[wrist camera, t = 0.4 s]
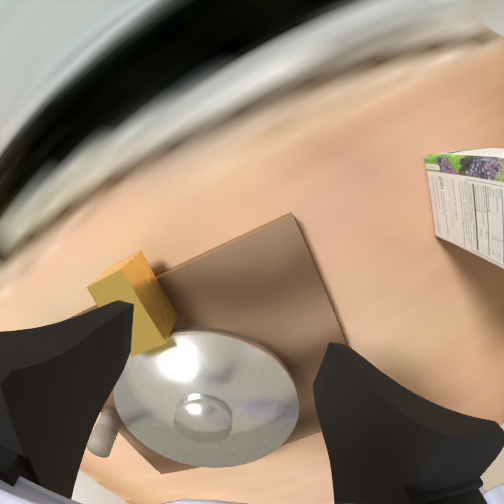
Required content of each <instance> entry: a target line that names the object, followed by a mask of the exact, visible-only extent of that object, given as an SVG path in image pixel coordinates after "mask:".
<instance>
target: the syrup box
mask: <svg viewBox="0 0 504 504" xmlns="http://www.w3.org/2000/svg"><path fill="white" fill-rule="evenodd" d="M424 161H425V166H426V172H427V178H428V184H429V191H430V197H431V205H432V212H433V219H434V227H435V235H436V236H437V237H439V238H441V239H444V240H446V241H448V242H450V243H453V244H454V245H456V246H458V247H460V248H462V249H465V250H467V251H469V252H471V253H473V254H475V255H477V256H479V257H481V258H483V259H485V260H487V261H489V262H491V263H493V264H495V265H497V266H499V267H500V268H502V269H504V149H498V148H473V149H463V150H456V151H450V152H444V153H438V154H433V155H427V156H425V158H424Z"/></svg>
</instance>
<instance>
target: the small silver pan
mask: <svg viewBox="0 0 504 504" xmlns="http://www.w3.org/2000/svg"><path fill="white" fill-rule="evenodd" d="M87 288H88V290H89V292H90V293H91V295H92V297H93V299H94V300H95V302H96V304H97V305H98V307H101V306H104V305H106V304H109V303H111V302H114V301H117V300H120V301H124V302H128V303H132V304H134V312H133V326H132V341H131V352H130V355H129V358H128V360H127V363H126V365H125V368H124V370H123V372H122V374H121V376H120V378H119V380H118V381H117V383H116V385H115V387H114V390H113V395H114V402H115V406H116V409H117V412H118V414H119V416H120V418H121V420H122V421H123V423H124V424H125V426H126V427H127V428H128V430H129V431H130V432H131V433H132V434H133V435H134V436H135V437H136V438H137V439H138V440H139V441H140V442H142V443H143V444H144V445H145V446H147V447H148V448H150V449H151V450H153V451H155V452H157V453H158V454H160V455H162V456H164V457H167V458H169V459H172V460H174V461H178V462H181V463H184V464H189V465H193V466H200V467H214V468H217V467H231V466H237V465H242V464H246V463H249V462H253V461H255V460H258V459H260V458H262V457H264V456H266V455H268V454H270V453H271V452H273V451H274V450H276V449H277V448H278V447H280V446H281V445H282V444H283V443H284V442H285V441H286V440H287V438H288V437H289V436H290V434H291V433H292V431H293V429H294V427H295V425H296V422H297V419H298V414H299V400H298V396H297V392H296V387H295V383H294V381H293V378H292V376H291V374H290V372H289V371H288V369H287V368H286V366H285V365H284V364H283V362H282V361H281V360H280V359H279V358H278V357H277V356H276V355H275V354H273V353H272V352H271V351H270V350H269V349H267V348H266V347H264V346H263V345H261V344H260V343H258V342H256V341H254V340H252V339H250V338H248V337H245V336H243V335H240V334H237V333H234V332H230V331H226V330H222V329H216V328H209V327H183V328H176V329H172V328H173V325H174V323H175V320H176V318H177V313H176V311H175V310H174V308H173V306H172V305H171V303H170V301H169V299H168V298H167V296H166V294H165V293H164V291H163V289H162V287H161V286H160V284H159V282H158V280H157V279H156V277H155V275H154V273H153V272H152V270H151V268H150V266H149V264H148V262H147V261H146V259H145V257H144V255H143V253H142V251H140V252H138V253H136V254H134V255H132V256H130V257H128V258H127V259H125V260H123V261H121V262H119V263H117V264H115V265H113V266H111V267H110V268H109V269H107V270H106V271H105V272H104V273H103V274H102V275H100V276H99V277H98V278H97V279H96V280H95V281H93V282H92V283H91V284H90V285H89V286H88V287H87Z"/></svg>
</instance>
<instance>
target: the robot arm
mask: <svg viewBox="0 0 504 504" xmlns="http://www.w3.org/2000/svg"><path fill="white" fill-rule="evenodd" d="M133 312H134V304H132V303H128V302H124V301H120V300H117V301H114V302H111V303H109V304H106V305H104V306H101V307H99V308H96V309H94V310H92V311H89V312H87V313H84V314H82V315H79V316H76V317H73V318H70V319H67V320H64V321H62V322H58V323H55V324H51V325H47V326H42V327H38V328H32V329H24V330H16V331H3V332H0V504H81V503H79V502H76V501H73V500H71V497H72V493H73V488H74V485H75V481H76V478H77V474H78V471H79V467H80V464H81V461H82V457H83V454H84V451H85V448H86V446H87V443H88V440H89V437H90V435H91V432H92V429H93V427H94V424H95V422H96V420H97V417H98V415H99V413H100V412H101V410H102V408H103V406H104V404H105V403H106V401H107V399H108V397H109V395H110V394H111V392H112V390H113V388H114V387H115V385H116V383H117V381H118V380H119V378H120V376H121V374H122V372H123V370H124V368H125V365H126V363H127V360H128V358H129V355H130V352H131V341H132V326H133ZM313 394H314V402H315V408H316V412H317V415H318V419H319V423H320V426H321V430H322V433H323V436H324V440H325V443H326V447H327V450H328V455H329V459H330V465H331V473H332V480H333V491H334V502H335V504H504V484H501V485H499V486H497V487H494V488H492V489H490V490H488V491H486V490H485V489H484V487H483V481H482V480H481V478H480V476H481V475H482V474H483V473H484V472H485V471H486V469H487V468H488V467H489V466H490V465H491V464H492V462H493V461H494V460H495V459H496V457H497V456H498V455H499V453H500V452H501V450H502V448H503V446H504V431H503V429H502V428H501V427H500V426H499V424H498V423H496V422H495V421H490V420H485V419H481V418H476V417H471V416H468V415H464V414H461V413H458V412H455V411H452V410H449V409H446V408H444V407H441V406H439V405H437V404H434V403H432V402H430V401H428V400H426V399H424V398H423V397H420V396H418V395H416V394H415V393H413V392H411V391H409V390H408V389H406V388H404V387H403V386H401V385H400V384H398V383H397V382H395V381H394V380H392V379H391V378H389V377H388V376H387V375H385V374H384V373H383V372H381V371H380V370H379V369H377V368H376V367H375V366H373V365H372V364H371V363H370V362H368V361H367V360H366V359H365V358H363V357H362V356H361V355H359V354H358V353H357V352H355V351H354V350H353V349H351V348H350V347H348V346H347V345H345V344H340V343H333V342H329V344H328V347H327V350H326V352H325V355H324V357H323V360H322V363H321V365H320V368H319V370H318V373H317V375H316V378H315V380H314V382H313ZM162 504H247V503H236V502H227V501H218V500H197V499H182V500H177V501H172V502H167V503H162Z"/></svg>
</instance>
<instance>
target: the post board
mask: <svg viewBox="0 0 504 504" xmlns="http://www.w3.org/2000/svg"><path fill="white" fill-rule="evenodd" d="M155 277H156V279H157V280H158V282H159V284H160V286H161V287H162V289H163V291H164V293H165V294H166V296H167V298H168V299H169V301H170V303H171V305H172V306H173V308H174V310H175V311H176V313H177V318H176V320H175V323H174V325H173V328H172V329H176V328H183V327H209V328H216V329H222V330H226V331H230V332H234V333H237V334H240V335H243V336H245V337H248V338H250V339H252V340H254V341H256V342H258V343H260V344H261V345H263V346H264V347H266V348H267V349H269V350H270V351H271V352H272V353H273V354H275V355H276V356H277V357H278V358H279V359H280V360H281V361H282V362H283V364H284V365H285V366H286V368H287V369H288V371H289V372H290V374H291V376H292V378H293V381H294V383H295V387H296V392H297V396H298V400H299V414H298V419H297V422H296V425H295V427H294V429H293V431H292V433H291V434H290V436H289V437H288V438H287V440H286V441H285V442H284V443H283V444H286V443H289V442H292V441H295V440H298V439H300V438H303V437H306V436H309V435H311V434H314V433H317V432H319V431H322V430H321V426H320V423H319V419H318V415H317V412H316V408H315V402H314V394H313V382H314V380H315V378H316V375H317V373H318V370H319V368H320V365H321V363H322V360H323V357H324V355H325V352H326V350H327V347H328V344H329V342H333V343H340V344H345V345H347V344H346V342H345V339H344V337H343V334H342V331H341V329H340V326H339V324H338V321H337V319H336V316H335V314H334V311H333V309H332V306H331V304H330V301H329V299H328V296H327V294H326V291H325V289H324V286H323V284H322V281H321V279H320V277H319V274H318V272H317V269H316V267H315V265H314V262H313V260H312V257H311V255H310V253H309V250H308V248H307V246H306V243H305V241H304V239H303V236H302V234H301V232H300V229H299V227H298V225H297V223H296V220H295V218H294V216H293V214H292V213H289V214H287V215H284V216H282V217H280V218H278V219H276V220H273V221H271V222H269V223H267V224H265V225H263V226H260V227H258V228H256V229H254V230H252V231H250V232H248V233H245V234H243V235H241V236H239V237H237V238H235V239H232V240H230V241H228V242H226V243H224V244H222V245H220V246H218V247H215V248H213V249H211V250H209V251H207V252H205V253H203V254H201V255H198V256H196V257H194V258H192V259H190V260H188V261H186V262H184V263H182V264H180V265H177V266H175V267H173V268H171V269H169V270H167V271H165V272H163V273H161V274H159V275H157V276H155ZM96 308H99V307H98V305H95V306H93V307H91V308H89V309H87V310H85V311H83V312H81V313H79V314H77V315H75V316H73V317H76V316H79V315H82V314H84V313H87V312H89V311H92V310H94V309H96ZM73 317H71V318H73ZM69 319H70V318H69ZM113 390H114V388H113ZM113 390H112V392H111V394H110V395H109V397H108V399H107V401H106V403H105V404H104V406H103V408H102V410H101V413H102V414H101V416H100V418H99V420H98V422H97V424H96V426H95V428H94V430H93V432H92V435H91V437H90V439H89V441H88V443H87V448H88V450H89V451H90V452H91V453H93V454H94V455H96V456H99V457H103V458H105V457H108V456H109V454H110V452H111V449H112V446H113V444H114V441H115V439H116V436H117V434H118V432H119V433H120V434H121V435H122V436H123V437H124V438H125V439H126V440H127V441H128V442H129V443H130V444H131V445H132V446H133V447H134V448H135V449H136V450H137V451H138V452H139V453H140V454H141V455H142V456H143V457H144V458H145V459H146V460H147V461H148V462H149V463H150V464H151V465H152V466H153V467H154V468H155V469H156V470H157V471H159V472H160V473H161V474H165V473H171V472H177V471H182V470H188V469H193V468H198V467H200V466H193V465H189V464H184V463H181V462H178V461H174V460H172V459H169V458H167V457H164V456H162V455H160V454H158V453H157V452H155V451H153V450H151V449H150V448H148V447H147V446H145V445H144V444H143V443H142V442H140V441H139V440H138V439H137V438H136V437H135V436H134V435H133V434H132V433H131V432H130V431H129V430H128V428H127V427H126V426H125V424H124V423H123V421H122V420H121V418H120V416H119V414H118V412H117V409H116V406H115V402H114V395H113ZM283 444H282V445H283Z"/></svg>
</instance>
